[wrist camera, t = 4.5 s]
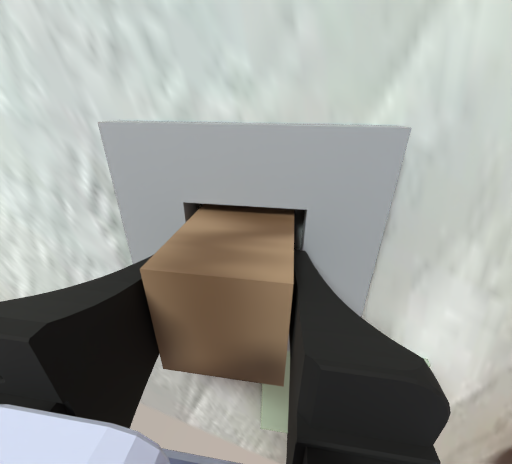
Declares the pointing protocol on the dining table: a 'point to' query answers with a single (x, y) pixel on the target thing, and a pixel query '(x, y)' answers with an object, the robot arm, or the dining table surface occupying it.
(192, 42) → the dining table surface
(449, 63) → the dining table surface
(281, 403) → the felt mat
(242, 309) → the walnut block
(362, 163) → the pocket board
